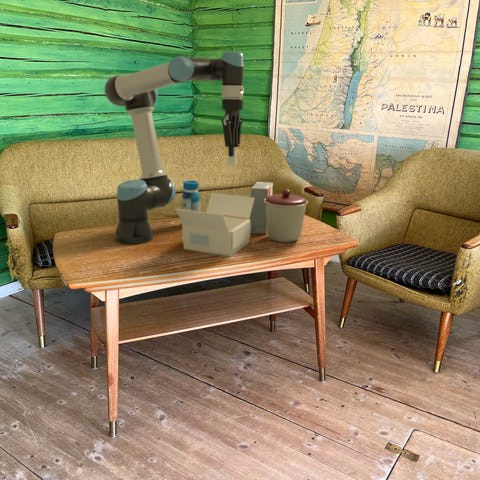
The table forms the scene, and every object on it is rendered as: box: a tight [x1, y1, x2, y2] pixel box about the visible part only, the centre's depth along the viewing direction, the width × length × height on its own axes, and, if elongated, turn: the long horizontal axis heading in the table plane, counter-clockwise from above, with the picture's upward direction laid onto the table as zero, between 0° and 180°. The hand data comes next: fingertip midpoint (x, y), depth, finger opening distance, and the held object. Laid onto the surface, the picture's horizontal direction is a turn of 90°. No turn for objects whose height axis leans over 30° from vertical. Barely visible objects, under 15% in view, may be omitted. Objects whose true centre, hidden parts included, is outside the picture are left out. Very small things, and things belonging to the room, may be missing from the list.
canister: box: [264, 188, 309, 243], centre depth 200 cm, size 18×18×21 cm
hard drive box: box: [249, 181, 274, 235], centre depth 213 cm, size 16×8×20 cm, turn 168°
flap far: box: [205, 192, 254, 219], centre depth 199 cm, size 19×9×1 cm
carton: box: [181, 215, 251, 258], centre depth 191 cm, size 22×18×10 cm
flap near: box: [175, 207, 229, 231], centre depth 178 cm, size 19×9×1 cm
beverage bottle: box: [181, 180, 202, 212], centre depth 216 cm, size 8×8×20 cm
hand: (232, 164), depth 179 cm, fingers closed
